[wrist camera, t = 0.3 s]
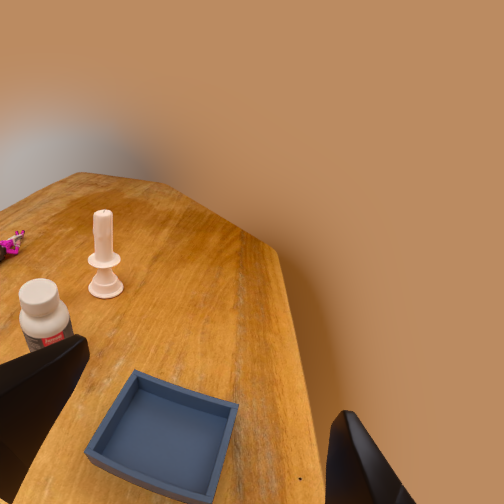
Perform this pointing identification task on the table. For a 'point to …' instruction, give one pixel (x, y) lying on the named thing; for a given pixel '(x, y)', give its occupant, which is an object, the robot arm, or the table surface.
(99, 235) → the candle
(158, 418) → the tray
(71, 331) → the pill bottle
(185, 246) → the table surface
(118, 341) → the table surface
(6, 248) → the character figurine
